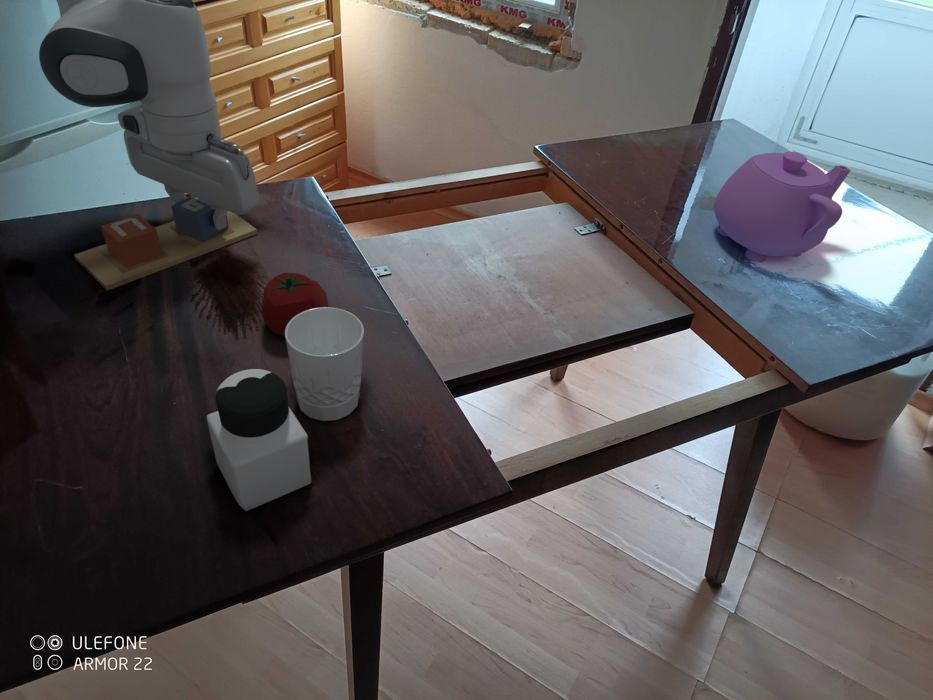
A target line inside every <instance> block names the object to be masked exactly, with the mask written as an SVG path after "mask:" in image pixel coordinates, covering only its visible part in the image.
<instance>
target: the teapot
mask: <svg viewBox="0 0 933 700" xmlns="http://www.w3.org/2000/svg"><path fill="white" fill-rule="evenodd" d="M851 171H852V169H850V168H849V167H847V166H845V165H834V167H832V168H831V169H830V170H829V171H828V172H826V173H825V171H823V170H822V169H821V168H820V167H818V166H817V165H815V164H814V163H812V162H810V161H808V157H806V156H805V155H804V154H802V153H800V152H796V151H785V152H767V153H759V154H756V155H753V156H751V157H749V158H748V160H746V161H745V162H744V163H743V164H742V165H740V166H739V168H737V169H736V170H735V171H734V172H733V173H732V174H731V176H729V177H728V179H727V180H726V181H725V183H724V184H723V185H722V187H721V188H720V190H719V191H718V193H717V195H716V198H715V200H714V202H713V211H714V215H715V218H716V221H717V224H718V225H719V227H718V228H717V233H718V234H719V235H721V236H723V237H725V238H730V239H732V240H733V241H734V242H735V243H737V244H739V245H740V246H742V247H744V248H745V249H746V251H745V252H744V256H745V258H746V259H748V260H749V261H752V262H754V263H755V262H756V263H762V262H765V258H766V256H769V257H795V258H796V257H800V256H801V255H802V254H803V253H806V252H808V251H810V250H812V249H813V248H815V247H817V246H818V245H820V244H821V243H822V242H824V240H825V238H826V236H827V234H828V231H829V230H830V229H831V228H833V226H835V225H836V224H837V223H838V221H839V220H840V219H841V217H842V215H843V208H842V206H841V205H840V204H839V203H838V202H837V201H835V200H833V197H834V195H835V194H836V192H837V191H838V190H839V188H840V187H841V186H842V184H843V183H844V181H845V179H846V178H847V176H848V175H849V174H850V172H851Z"/></svg>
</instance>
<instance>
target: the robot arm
mask: <svg viewBox="0 0 933 700" xmlns="http://www.w3.org/2000/svg"><path fill="white" fill-rule="evenodd" d="M56 4H57V6H58V10H59V15H60V18H58V19H57V20H56V21H55V22H54V24H53V25H52V26H51V27H50V29H49V30H48V32H47V33H46V34H45V36H44V38H43V40H42V41H41V43H40V46H39V51H38V53H39V54H38V59H39V64H40V68H41V70H42V73H43V75H44V76H45V79H46V80H47V82H48V83H49V84H50V85H51V86H52V88H54V90H55V91H56V92H57V93H58V94H60V95H61V96H63V97H64V98H65V99H68V100H69V101H70V102H72V103H75V104H77V105H80V106H84V107H88V108H104V107H113V106H120V105H126V104H132V103H135V102H138V101H139V102H140V104H137V105H134V106H132V107H129V108H127V109H124V110H122V111H121V112H119V113H117V120H118V123H119V125H120V127H121V128H122V129H123V130H124V131H123V140H124V145H125V150H126V153H127V156H128V161H129V164H130V165H131V167H132V168H133V170H134V171H135V172H136V173H137V175H140V176H142V177H145V178H147V179H150V180H152V181H154V182H157V183H159V184H162V185H163V187H164V190H165V192H166V193H167V195H168V196H169V198H170V199H171V201H172V202H173V205H174V204H176V203H178V202H180V201H182V200H184V199H186V198H187V196H186V195H189V196H194V197H196V198H198V199H201V200H203V201H206V202H208V203H211V207H212V209H214V210H215V212H214V215H211V216H209V222H210V226H211V227H213V228H215V229H218V230H221V229H223V228H224V227H226V225H227V221H226V214H227V212H228V211H230V212H233V213H235V214H236V215H238V216H242V215H245V214H246V213H248V212H249V211H252V210H253V209H255V208H256V206H258V204H259V203H260V194H259V188H258V184H257V180H256V176H255V175H256V174H255V172H254V169H253V165H252V162H251V161H250V158H249V156H248V154H246V153H245V152H244V151H243V150H242V149H241V147H240V145H239V144H237V143H235V142H232V141H229V140H225V139H224V138H222V129H221V123H220V117H219V116H220V115H219V111H218V102H217V98H216V95H215V92H214V91H213V88H212V85H211V72H212V64H211V63H212V62H211V58H210V52H209V51H210V50H209V45H208V42H207V36H206V32H205V28H204V24H203V21H202V18H201V15H200V12H199V10H198V7H197V5H196V4H195V2H194V0H56Z"/></svg>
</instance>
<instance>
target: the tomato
mask: <svg viewBox="0 0 933 700" xmlns="http://www.w3.org/2000/svg"><path fill="white" fill-rule="evenodd" d="M320 307H329V300H328V297H327V293H326V291H325V290H324V289H323V287H322V286H321V285H320V283H318V281H316V280H314V279H311V278H309V277H308V276H307V275H304V274H301V273H298V272H282V273H280V274H277V275H275V276H274V277H272V278H271V279H270V280H269V281H268V282H267V284H266V285H265V287H264V289H263V294H262V301H261V316H262V319H263V321H264V324H265V325H266V327H267V328H268V329H269V330H270V331H271V332H272V333H274V334H276V335H280V336H281V337H283V338H285V329H286V326H287V324H288V323H289V321H290V320H291V319H292V318H293V317H295V316H296V315H298V314H299V313H301V312H304V311H306V310H309V309H313V308H320Z"/></svg>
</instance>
